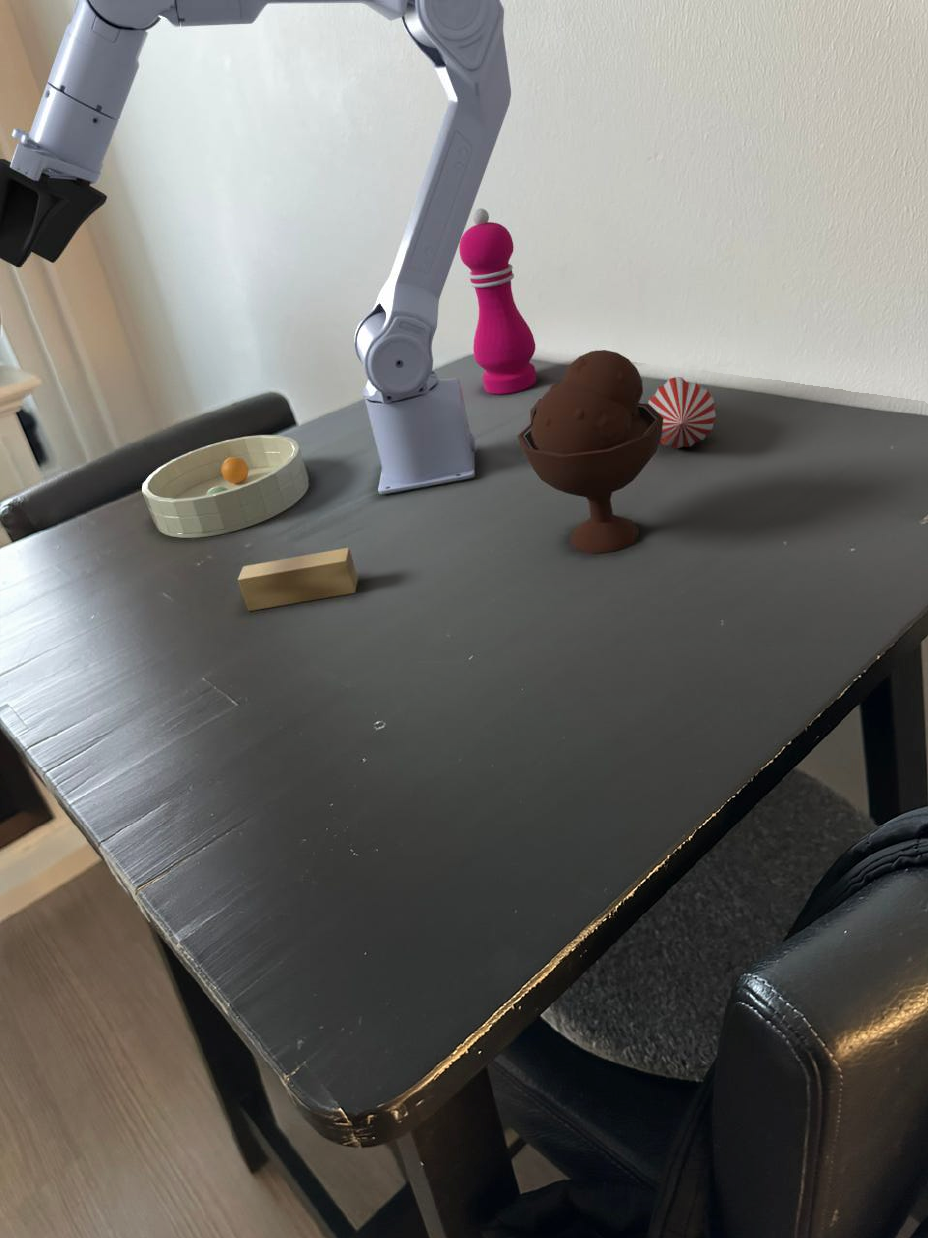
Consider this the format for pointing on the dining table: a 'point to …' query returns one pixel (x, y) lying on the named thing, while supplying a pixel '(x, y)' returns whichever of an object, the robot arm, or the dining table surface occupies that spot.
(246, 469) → the ball
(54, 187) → the robot arm
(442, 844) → the dining table surface
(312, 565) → the wooden block
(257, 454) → the cream round tray
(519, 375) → the pepper mill
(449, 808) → the dining table surface
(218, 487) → the ball
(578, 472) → the ice cream bowl
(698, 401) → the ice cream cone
